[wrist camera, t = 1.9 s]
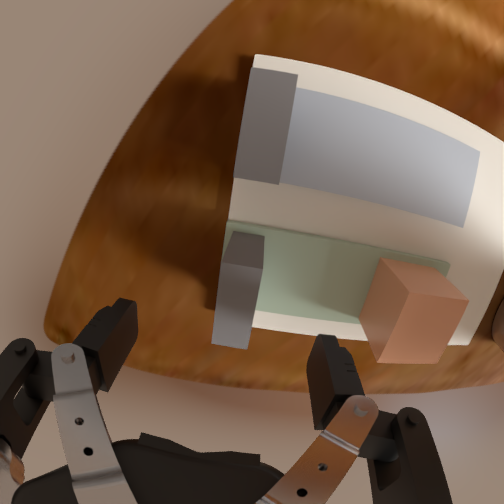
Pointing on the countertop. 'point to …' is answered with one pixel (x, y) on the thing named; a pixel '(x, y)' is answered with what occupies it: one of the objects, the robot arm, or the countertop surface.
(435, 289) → the block
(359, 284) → the block strip
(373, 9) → the countertop surface
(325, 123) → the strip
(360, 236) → the lane board
